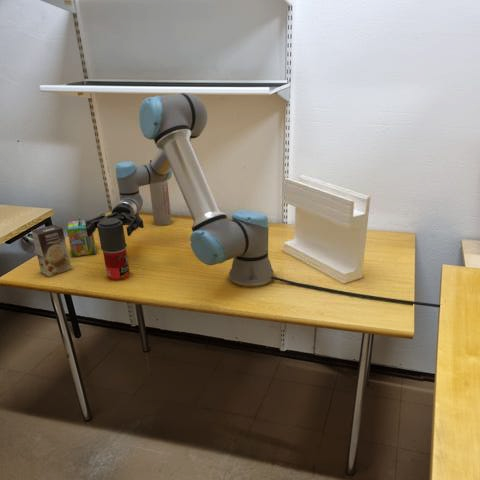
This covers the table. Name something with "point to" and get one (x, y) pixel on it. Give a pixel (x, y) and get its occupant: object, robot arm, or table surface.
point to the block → (328, 227)
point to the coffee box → (51, 250)
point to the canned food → (117, 264)
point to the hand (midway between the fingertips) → (108, 232)
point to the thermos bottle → (160, 203)
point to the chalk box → (80, 239)
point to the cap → (111, 235)
